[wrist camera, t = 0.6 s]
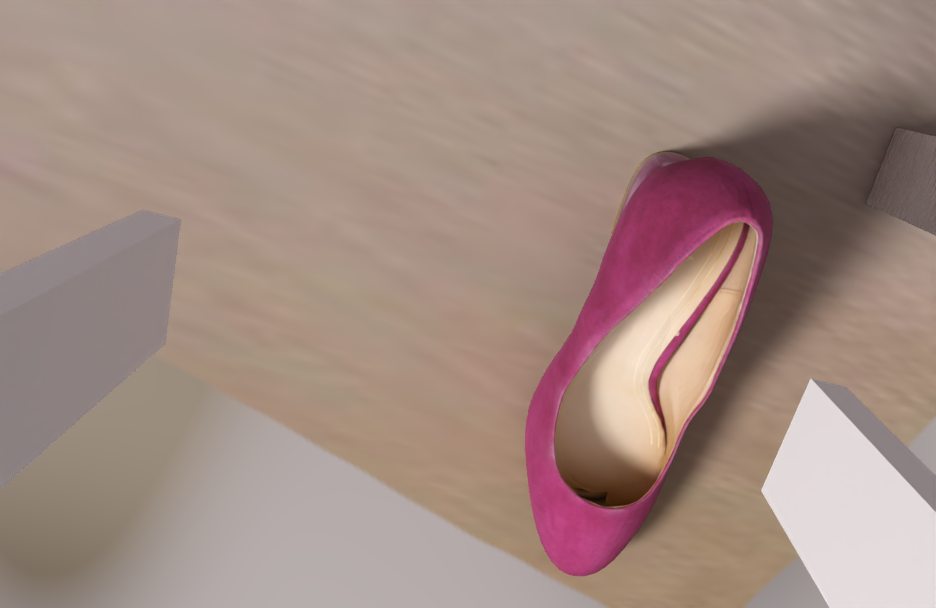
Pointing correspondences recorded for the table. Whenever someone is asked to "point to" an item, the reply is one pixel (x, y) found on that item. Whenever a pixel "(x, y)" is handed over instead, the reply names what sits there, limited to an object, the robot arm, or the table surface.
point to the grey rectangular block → (908, 180)
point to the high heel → (642, 353)
